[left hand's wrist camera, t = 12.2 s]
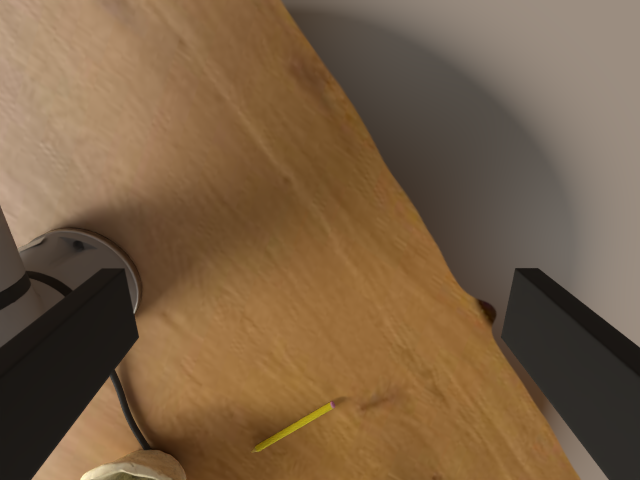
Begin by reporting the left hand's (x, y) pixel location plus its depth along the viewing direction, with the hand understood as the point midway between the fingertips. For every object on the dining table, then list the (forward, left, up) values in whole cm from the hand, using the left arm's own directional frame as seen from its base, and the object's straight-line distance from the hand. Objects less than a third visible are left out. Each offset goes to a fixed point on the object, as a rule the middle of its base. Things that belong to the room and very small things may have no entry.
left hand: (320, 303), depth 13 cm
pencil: (-36, +22, -33) cm, 53 cm away
